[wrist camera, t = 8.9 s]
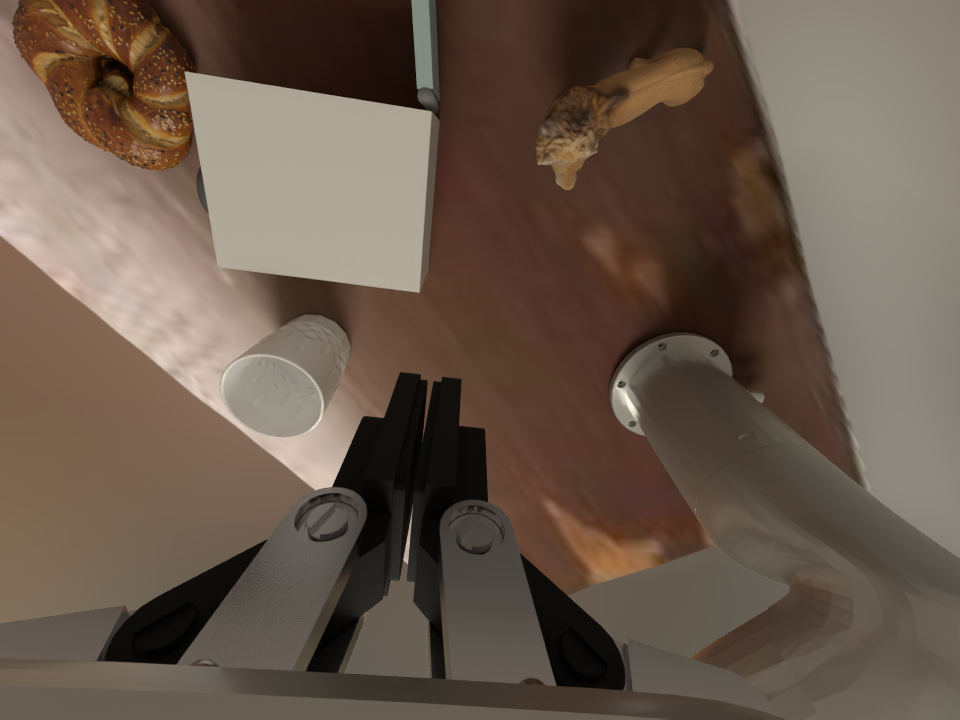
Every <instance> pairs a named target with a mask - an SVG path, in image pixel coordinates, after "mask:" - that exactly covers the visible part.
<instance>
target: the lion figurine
mask: <svg viewBox="0 0 960 720" xmlns="http://www.w3.org/2000/svg"><path fill="white" fill-rule="evenodd" d="M705 50H706V44H703V45H702V46H701V47H700V48H698V49H697V50H695V49H691V48H677V49H673V50H669V51H667V52H664V53H662V54H660V55H658V56H657V57H656V58H654V59H651V60H646V59H642V58H635V59H633V60H632V61H631V62H630V64H629V70H627V71H623V72H619V73H616V74H614V75H611V76H609V77H607V78H605V79H603V80H601V81H600V82H598V83H597V84H595V85H588V86H573V87H572V88H570V89H568V90H566V91H565V92H564V93H563V94H562V95H561V96H559V97H558V98H557V99H556V100H555V101H554V103H553V105H552V106H551V107H550V108H549V109H548V111H547V112H546V114H545V116H544V117H543V119H542V123H541V125H540V127H539V135H538V138H537V139H536V149H537V151H536V152H537V157H536V159H537V164H538V165H540V164H542V165H550V166H551V167H552V168H553V170H554V172H555V174H556V183H557V184H558V185H559V186H561V187H562V188H563V189H566V190H570V189H572V188H573V187H574V183H575V181H576V178H577V177H576V171H577V170H578V169H580V168H581V167H582V166H583V163H584V161H585V159H587V158H588V157H589V156H591V155H593V154H595V153H596V152H597V149H596V148H597V147H598V144H599V142H600V141H601V139H602V137H604V136H605V135H606V133H607V132H608V131H609V129H611V128H614V127H618V126H620V125H623V124H625V123H627V122H629V121H631V120H633V119H634V118H636V117H638V116H639V115H641V114H642V113H644V112H646V111H647V110H649V109H650V108H651V107H653V106H654V105H656V104H657V103H659V102H663V103H664V104H665V105H667V106H678V105H682V104H684V103H686V102H688V101H689V100H690V99H692V98H693V97H694V96H695V95H696V94H698V93H699V92H700V91H701V89H702V88H703V86H704V83H705V81H704V79H705V77H706V76H707V75H708V74H709V73H710V72H711V71H712V70H713V67H714V65H713V63H712V62H711V61H706V60H704V59H703V56H702V55H703V54H704V52H705Z"/></svg>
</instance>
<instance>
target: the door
mask: <svg viewBox="0 0 960 720" xmlns="http://www.w3.org/2000/svg"><path fill="white" fill-rule="evenodd" d="M412 16H413V32H414V48H415V63H416V79H417V89H418V90H419V91H418V100H419V102H420V103H421V104H422V105H423V106H424V107H425V108H426V109H427V111H432V112H433V114H434V115H436V114H437V113H438V112H439V111H440V104H439V102H438V101H440V92H439V68H438V44H437V19H436V0H412Z"/></svg>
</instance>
